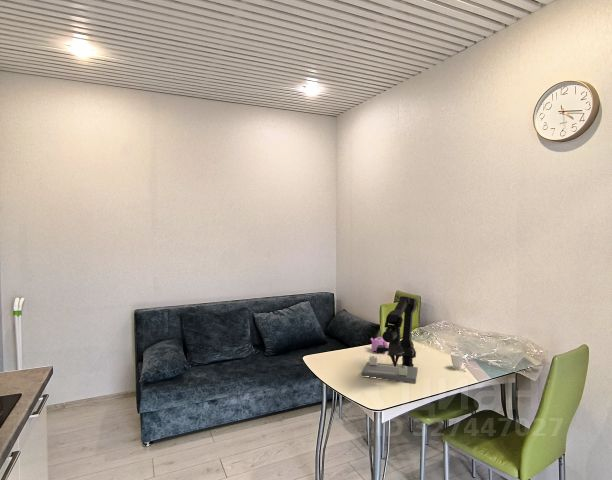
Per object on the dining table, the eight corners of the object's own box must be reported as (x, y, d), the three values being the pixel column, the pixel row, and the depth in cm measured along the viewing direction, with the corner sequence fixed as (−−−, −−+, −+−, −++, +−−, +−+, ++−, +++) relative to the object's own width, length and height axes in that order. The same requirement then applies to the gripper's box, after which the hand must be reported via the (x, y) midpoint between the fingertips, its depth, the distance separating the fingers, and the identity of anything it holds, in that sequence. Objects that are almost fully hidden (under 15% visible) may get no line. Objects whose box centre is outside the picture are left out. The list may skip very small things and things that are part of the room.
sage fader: (399, 372, 196) (399, 365, 196) (407, 373, 194) (407, 365, 194) (398, 374, 193) (398, 367, 193) (406, 375, 192) (406, 368, 191)
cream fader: (370, 362, 211) (370, 355, 211) (377, 363, 210) (377, 356, 210) (369, 364, 208) (369, 357, 208) (376, 365, 207) (376, 358, 207)
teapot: (381, 355, 230) (381, 341, 230) (365, 349, 243) (364, 335, 243) (393, 352, 236) (392, 338, 236) (376, 346, 249) (376, 332, 248)
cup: (454, 364, 213) (454, 351, 213) (471, 369, 205) (471, 355, 205) (448, 367, 209) (447, 353, 208) (464, 373, 201) (464, 358, 200)
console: (367, 366, 214) (367, 361, 213) (417, 371, 204) (417, 367, 204) (361, 376, 199) (361, 372, 198) (415, 383, 189) (415, 378, 189)
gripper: (374, 340, 190) (374, 370, 191) (411, 343, 184) (412, 374, 184) (377, 334, 201) (378, 362, 201) (413, 337, 194) (413, 366, 194)
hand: (395, 366), depth 195 cm, fingers closed
